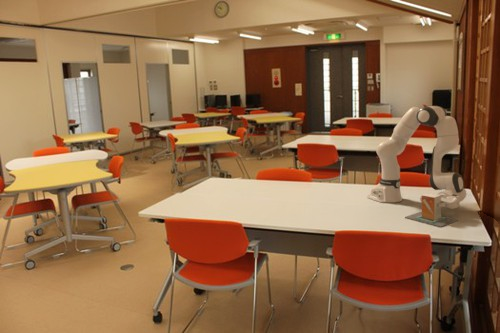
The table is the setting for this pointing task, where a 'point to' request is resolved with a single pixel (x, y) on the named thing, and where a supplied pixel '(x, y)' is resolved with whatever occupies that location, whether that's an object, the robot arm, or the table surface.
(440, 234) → the table surface
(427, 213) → the small box
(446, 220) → the plate
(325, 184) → the table surface
